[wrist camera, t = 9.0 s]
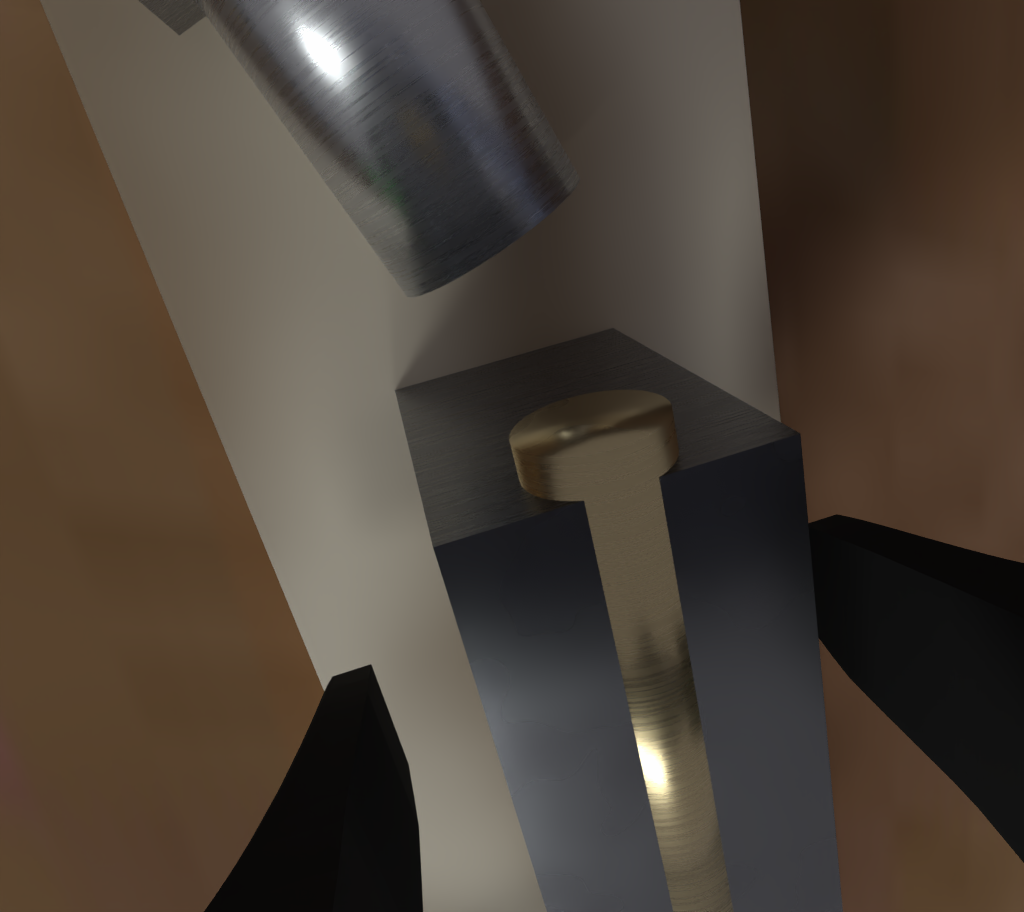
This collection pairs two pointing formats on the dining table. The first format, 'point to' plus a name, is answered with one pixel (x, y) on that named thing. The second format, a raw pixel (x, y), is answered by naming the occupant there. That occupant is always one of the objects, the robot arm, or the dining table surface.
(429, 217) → the angled shaft
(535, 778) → the grey slotted block
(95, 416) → the dining table surface
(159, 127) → the board
